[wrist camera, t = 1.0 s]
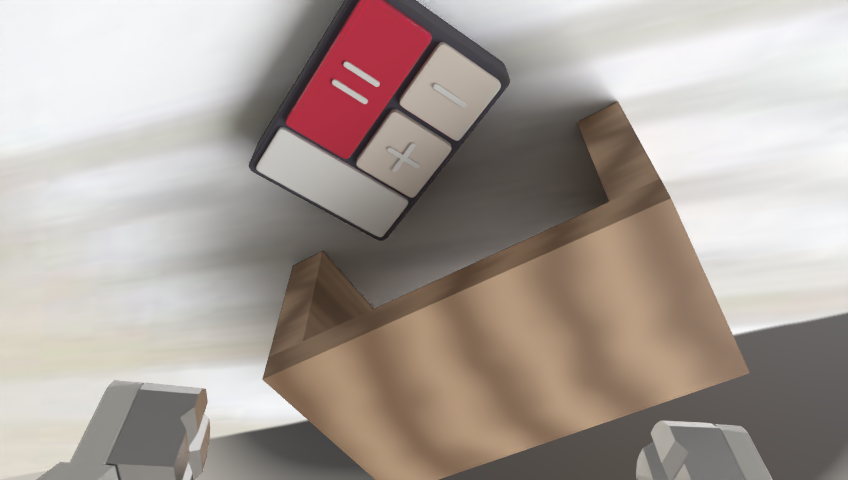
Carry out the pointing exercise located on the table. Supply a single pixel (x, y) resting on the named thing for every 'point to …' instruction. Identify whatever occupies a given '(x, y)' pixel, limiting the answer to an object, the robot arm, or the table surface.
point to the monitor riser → (511, 334)
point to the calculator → (378, 112)
